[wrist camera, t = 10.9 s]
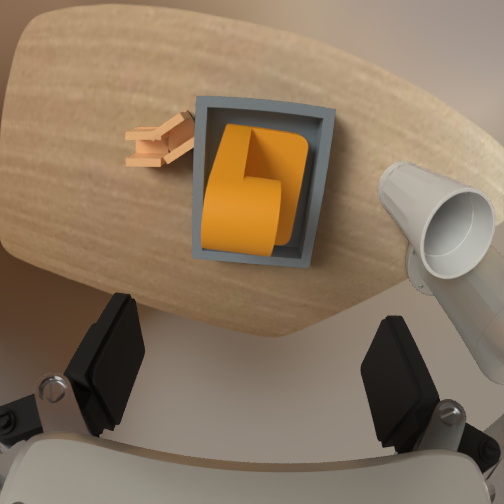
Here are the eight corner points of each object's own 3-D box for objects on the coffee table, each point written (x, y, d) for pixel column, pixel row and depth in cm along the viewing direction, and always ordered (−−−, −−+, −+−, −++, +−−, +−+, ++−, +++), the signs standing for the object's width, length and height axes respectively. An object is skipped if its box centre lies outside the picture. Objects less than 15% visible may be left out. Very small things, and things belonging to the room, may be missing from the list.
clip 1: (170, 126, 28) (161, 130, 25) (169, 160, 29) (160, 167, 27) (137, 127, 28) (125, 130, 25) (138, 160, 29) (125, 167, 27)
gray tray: (327, 108, 26) (336, 109, 23) (304, 252, 34) (309, 268, 31) (203, 96, 26) (196, 95, 23) (198, 242, 34) (192, 258, 31)
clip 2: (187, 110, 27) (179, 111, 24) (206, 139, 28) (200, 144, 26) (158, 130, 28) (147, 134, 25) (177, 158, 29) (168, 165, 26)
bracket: (286, 234, 32) (298, 307, 22) (218, 225, 32) (197, 294, 21) (305, 133, 27) (335, 158, 16) (229, 122, 27) (208, 139, 16)
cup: (364, 216, 32) (407, 276, 21) (379, 146, 28) (438, 178, 17) (422, 225, 32) (475, 281, 22) (439, 162, 28) (506, 199, 18)
